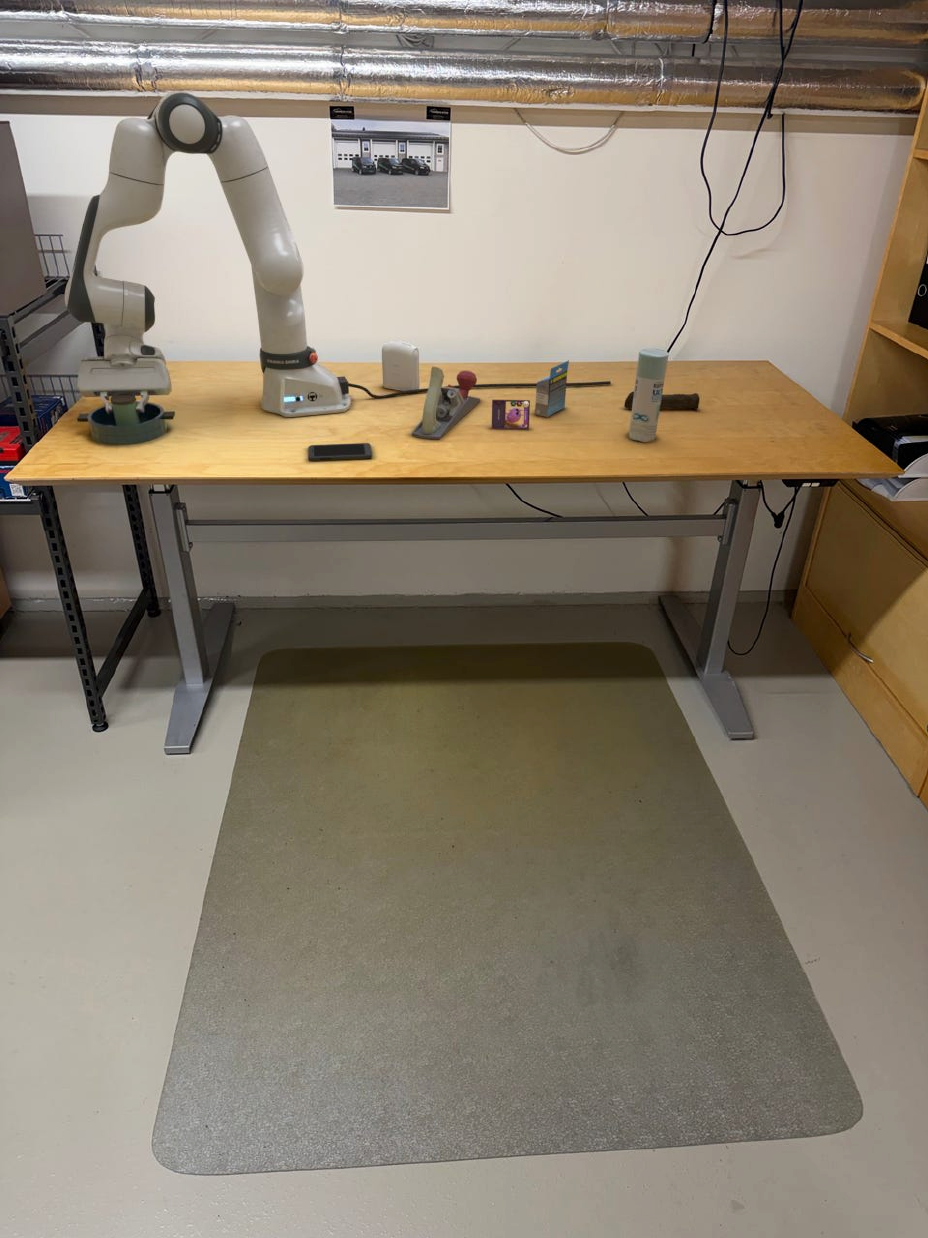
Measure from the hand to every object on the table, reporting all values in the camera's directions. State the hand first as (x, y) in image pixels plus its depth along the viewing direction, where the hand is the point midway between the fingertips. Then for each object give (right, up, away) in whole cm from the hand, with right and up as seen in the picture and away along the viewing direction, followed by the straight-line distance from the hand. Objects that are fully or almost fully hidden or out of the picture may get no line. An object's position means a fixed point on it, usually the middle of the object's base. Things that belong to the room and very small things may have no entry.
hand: (125, 412), depth 196 cm
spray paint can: (+119, -4, +8) cm, 120 cm away
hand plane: (+73, +3, +16) cm, 75 cm away
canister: (0, -4, +3) cm, 5 cm away
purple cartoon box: (+88, -1, +12) cm, 89 cm away
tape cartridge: (+99, +5, +21) cm, 101 cm away
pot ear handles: (0, -1, +2) cm, 2 cm away
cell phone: (+50, -10, -4) cm, 51 cm away
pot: (0, -4, +3) cm, 5 cm away
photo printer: (+60, +14, +33) cm, 70 cm away
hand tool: (+128, +6, +24) cm, 130 cm away
